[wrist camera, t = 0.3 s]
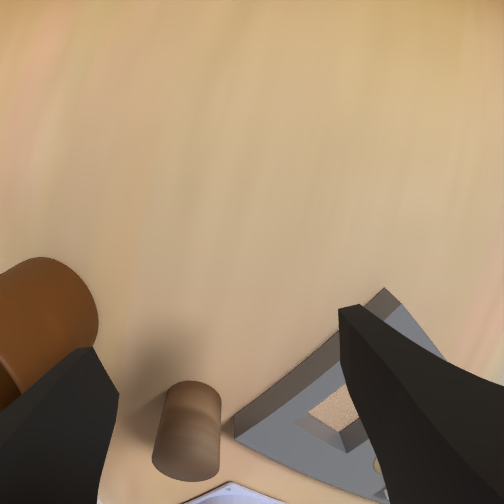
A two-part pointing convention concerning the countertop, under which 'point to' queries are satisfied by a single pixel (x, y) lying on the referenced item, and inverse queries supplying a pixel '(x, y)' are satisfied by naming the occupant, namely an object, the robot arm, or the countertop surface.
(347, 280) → the countertop surface
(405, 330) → the housing
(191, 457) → the peg
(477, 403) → the robot arm
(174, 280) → the countertop surface
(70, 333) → the mug
